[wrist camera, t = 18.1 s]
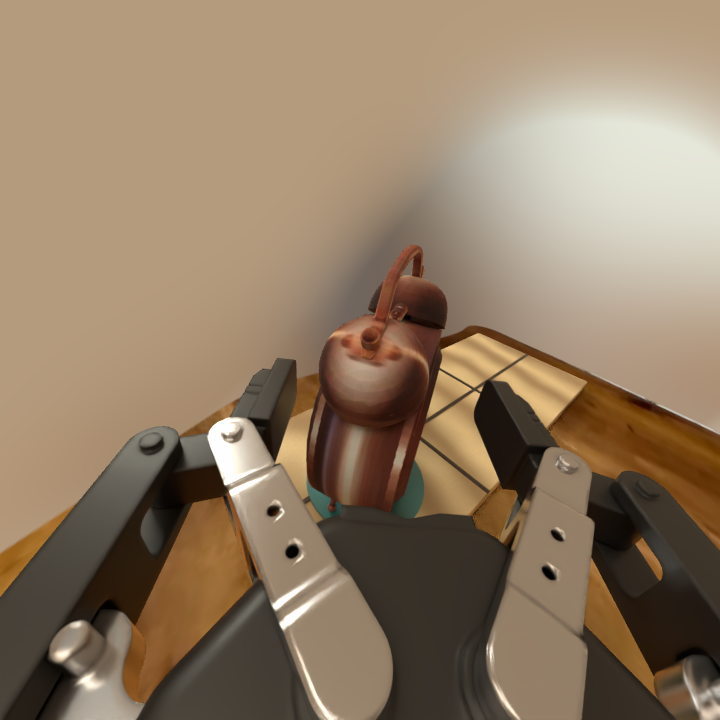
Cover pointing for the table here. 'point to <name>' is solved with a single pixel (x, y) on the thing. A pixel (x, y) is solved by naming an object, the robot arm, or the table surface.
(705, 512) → the table surface
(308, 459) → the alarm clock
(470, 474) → the board
